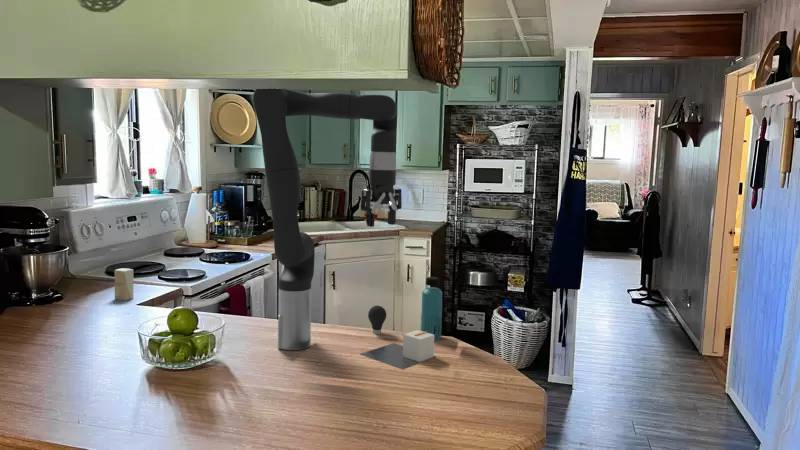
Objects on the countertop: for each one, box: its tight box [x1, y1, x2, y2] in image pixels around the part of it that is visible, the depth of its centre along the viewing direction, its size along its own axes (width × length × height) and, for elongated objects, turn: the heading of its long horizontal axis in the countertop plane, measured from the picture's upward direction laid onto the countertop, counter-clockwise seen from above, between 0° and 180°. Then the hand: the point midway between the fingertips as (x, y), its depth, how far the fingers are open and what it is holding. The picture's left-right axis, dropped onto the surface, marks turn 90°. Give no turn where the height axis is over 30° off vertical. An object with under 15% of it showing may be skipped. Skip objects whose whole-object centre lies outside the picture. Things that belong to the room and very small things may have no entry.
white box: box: [402, 329, 435, 362], centre depth 163 cm, size 6×6×6 cm
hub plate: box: [359, 342, 437, 371], centre depth 164 cm, size 14×16×6 cm
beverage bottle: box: [420, 276, 443, 341], centre depth 180 cm, size 6×7×20 cm
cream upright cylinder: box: [114, 267, 134, 301], centre depth 220 cm, size 5×4×11 cm
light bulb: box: [367, 305, 387, 335], centre depth 184 cm, size 6×6×10 cm
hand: (381, 225), depth 170 cm, fingers open, 8 cm apart
